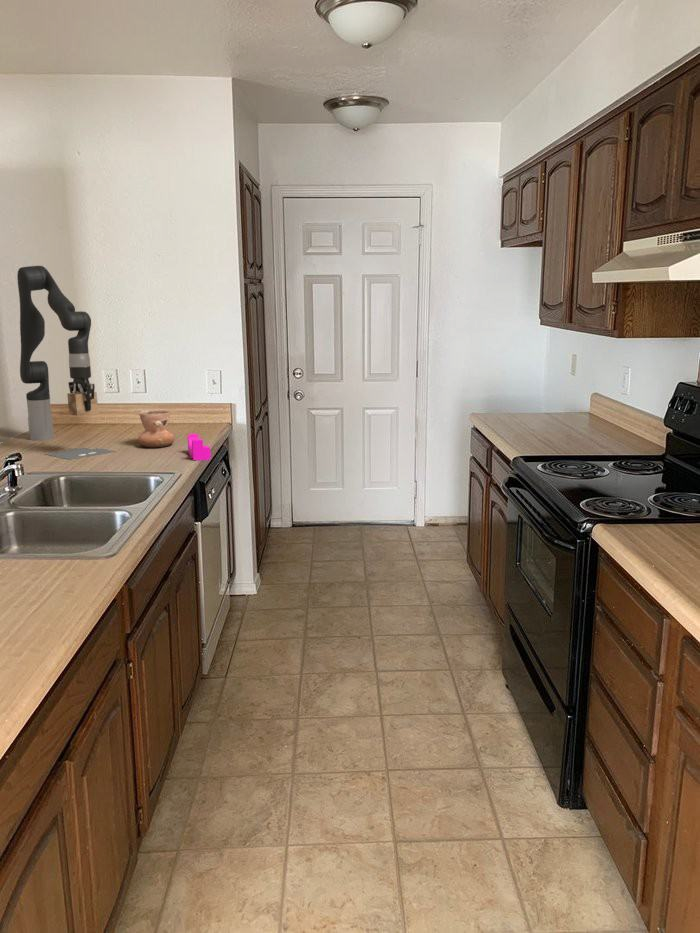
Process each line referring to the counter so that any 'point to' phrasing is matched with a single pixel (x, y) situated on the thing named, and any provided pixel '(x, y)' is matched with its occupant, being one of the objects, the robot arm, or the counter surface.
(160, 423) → the ceramic jug
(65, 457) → the grey mat
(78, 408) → the walnut block
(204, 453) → the toy block
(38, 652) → the counter surface
